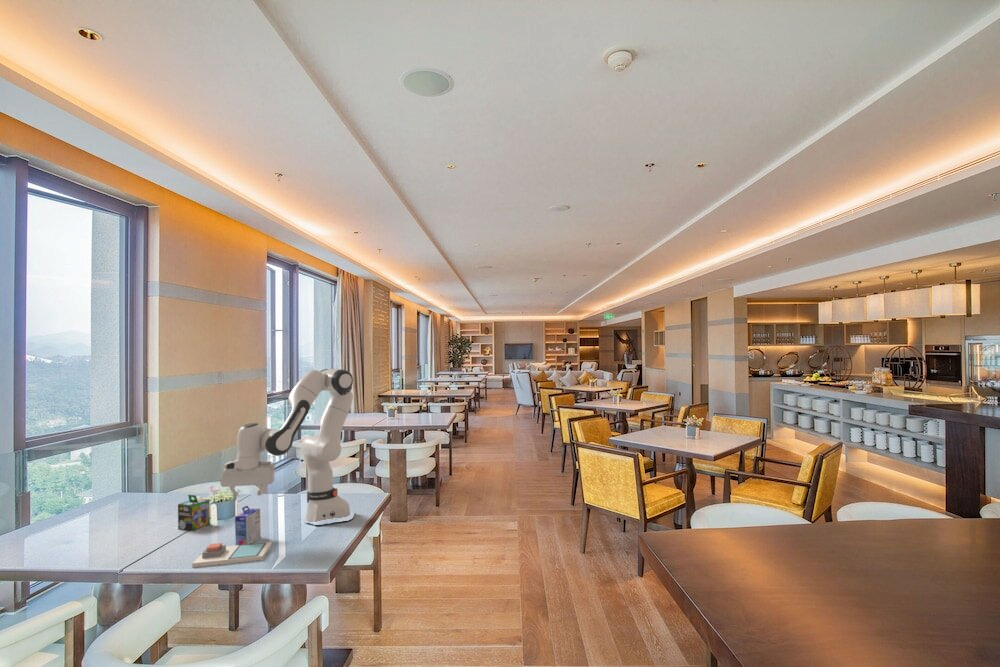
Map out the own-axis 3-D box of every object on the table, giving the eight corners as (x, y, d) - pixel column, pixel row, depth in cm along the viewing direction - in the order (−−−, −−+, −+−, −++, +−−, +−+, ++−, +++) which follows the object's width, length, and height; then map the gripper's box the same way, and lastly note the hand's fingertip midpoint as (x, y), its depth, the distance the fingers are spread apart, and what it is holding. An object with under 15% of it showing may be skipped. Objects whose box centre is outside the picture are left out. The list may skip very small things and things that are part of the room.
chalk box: (210, 524, 220) (210, 492, 221) (191, 531, 212) (192, 498, 212) (195, 522, 223) (196, 490, 224) (176, 529, 215) (177, 496, 215)
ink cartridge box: (249, 536, 204) (249, 502, 205) (261, 537, 203) (261, 503, 204) (234, 546, 194) (234, 510, 195) (246, 546, 194) (247, 510, 194)
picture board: (271, 545, 194) (271, 537, 194) (262, 560, 180) (262, 550, 180) (206, 552, 189) (206, 543, 189) (192, 567, 175) (192, 557, 175)
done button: (221, 548, 185) (221, 542, 186) (218, 552, 182) (218, 546, 182) (210, 549, 185) (210, 543, 185) (206, 553, 181) (206, 548, 181)
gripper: (276, 459, 206) (276, 492, 205) (224, 462, 201) (223, 495, 200) (273, 462, 199) (272, 496, 199) (219, 465, 195) (218, 499, 194)
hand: (247, 495), depth 199 cm, fingers open, 8 cm apart
